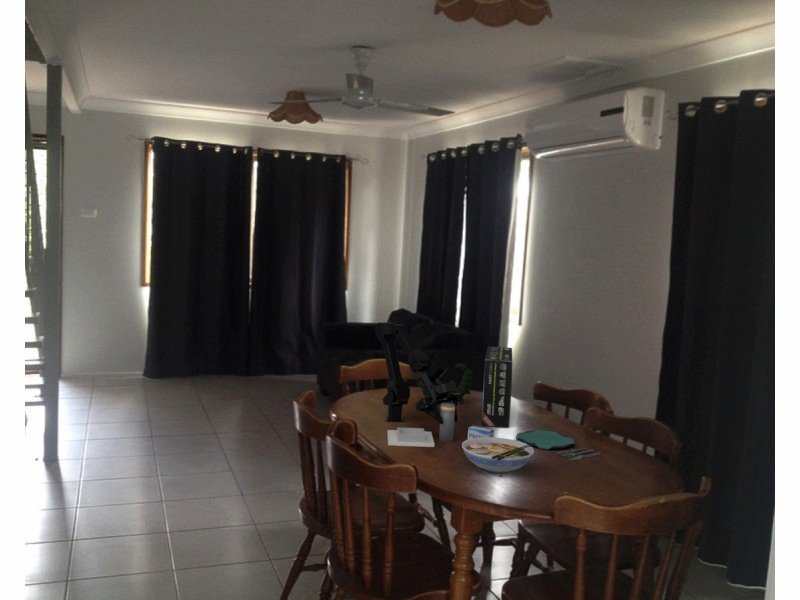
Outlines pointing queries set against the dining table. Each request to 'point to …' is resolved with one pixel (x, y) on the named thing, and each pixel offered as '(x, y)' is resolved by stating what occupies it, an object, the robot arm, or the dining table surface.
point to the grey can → (447, 421)
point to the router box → (497, 387)
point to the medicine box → (479, 432)
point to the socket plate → (410, 437)
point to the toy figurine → (463, 385)
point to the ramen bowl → (497, 453)
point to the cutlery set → (552, 442)
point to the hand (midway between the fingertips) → (449, 422)
